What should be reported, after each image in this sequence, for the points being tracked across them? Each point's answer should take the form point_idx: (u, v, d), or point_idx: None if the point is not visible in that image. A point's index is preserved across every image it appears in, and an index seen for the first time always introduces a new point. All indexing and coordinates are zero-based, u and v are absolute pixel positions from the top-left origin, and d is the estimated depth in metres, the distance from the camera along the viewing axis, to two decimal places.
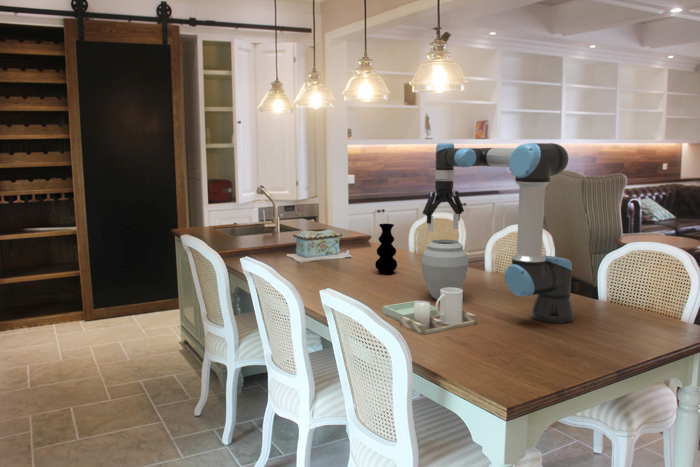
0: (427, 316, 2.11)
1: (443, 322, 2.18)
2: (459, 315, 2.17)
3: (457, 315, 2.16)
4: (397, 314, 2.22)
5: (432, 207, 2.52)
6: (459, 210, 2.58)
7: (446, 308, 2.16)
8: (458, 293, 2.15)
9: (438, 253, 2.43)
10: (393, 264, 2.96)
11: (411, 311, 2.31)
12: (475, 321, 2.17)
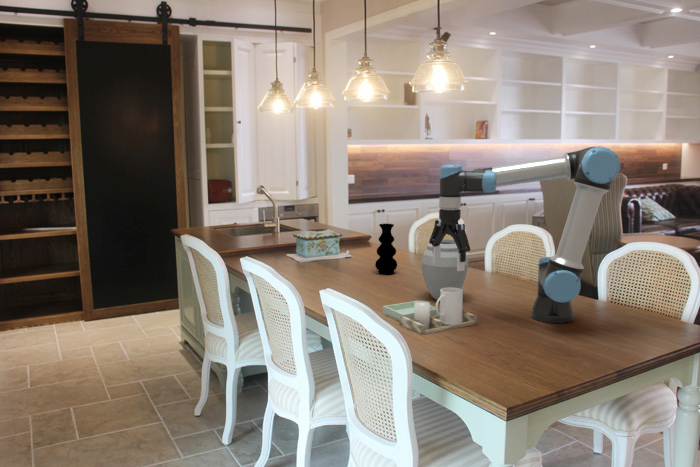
0: (427, 316, 2.11)
1: (443, 322, 2.18)
2: (459, 315, 2.17)
3: (457, 315, 2.16)
4: (397, 314, 2.22)
5: None
6: (460, 248, 2.08)
7: (446, 308, 2.16)
8: (458, 293, 2.15)
9: None
10: (393, 264, 2.96)
11: (411, 311, 2.31)
12: (475, 321, 2.17)
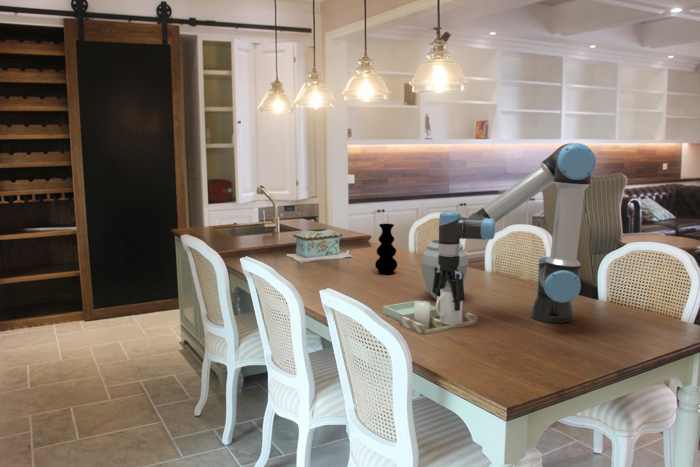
0: (427, 316, 2.11)
1: (443, 322, 2.18)
2: (459, 315, 2.17)
3: None
4: (397, 314, 2.22)
5: None
6: (455, 298, 2.13)
7: (446, 308, 2.16)
8: None
9: (438, 253, 2.43)
10: (393, 264, 2.96)
11: (411, 311, 2.31)
12: (475, 321, 2.17)
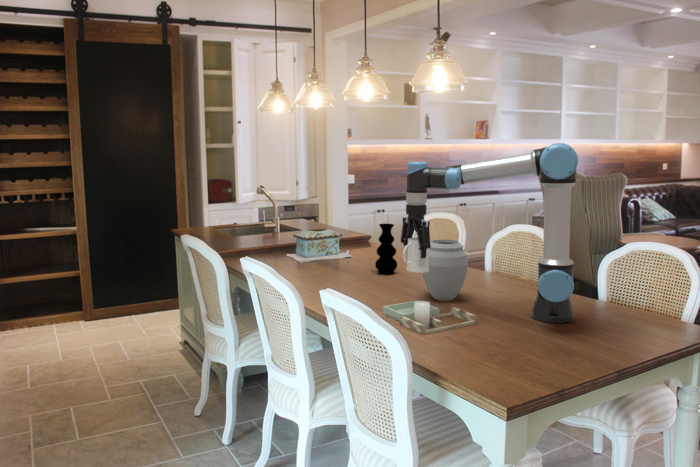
0: (427, 316, 2.11)
1: (410, 270, 2.23)
2: (426, 263, 2.23)
3: None
4: (397, 314, 2.22)
5: None
6: (421, 245, 2.18)
7: (413, 256, 2.22)
8: None
9: (438, 253, 2.43)
10: (393, 264, 2.96)
11: (411, 311, 2.31)
12: (475, 321, 2.17)
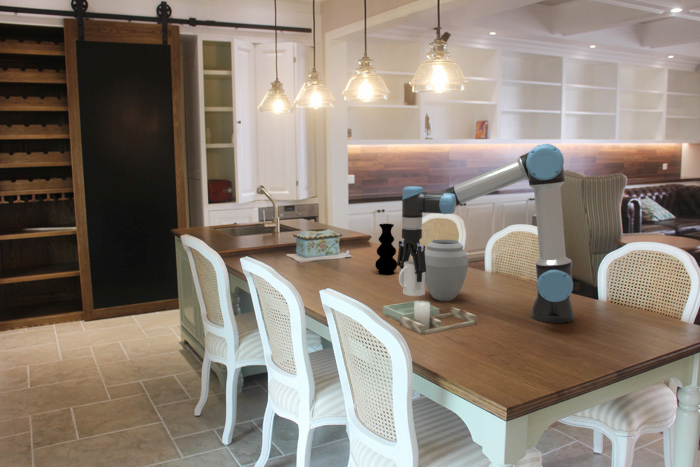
0: (427, 316, 2.11)
1: (406, 293, 2.26)
2: (421, 286, 2.25)
3: None
4: (397, 314, 2.22)
5: None
6: (417, 269, 2.21)
7: (409, 279, 2.24)
8: None
9: (438, 253, 2.43)
10: (393, 264, 2.96)
11: (411, 311, 2.31)
12: (475, 321, 2.17)
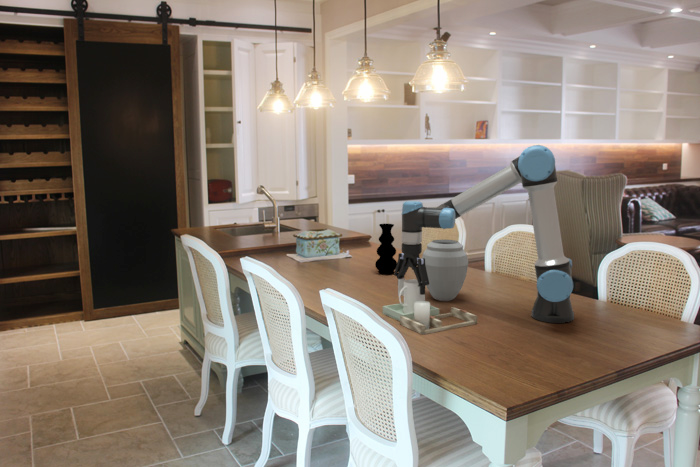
0: (427, 316, 2.11)
1: (406, 312, 2.27)
2: None
3: None
4: (397, 314, 2.22)
5: None
6: (420, 282, 2.20)
7: (409, 299, 2.26)
8: None
9: (438, 253, 2.43)
10: (393, 264, 2.96)
11: None
12: (475, 321, 2.17)
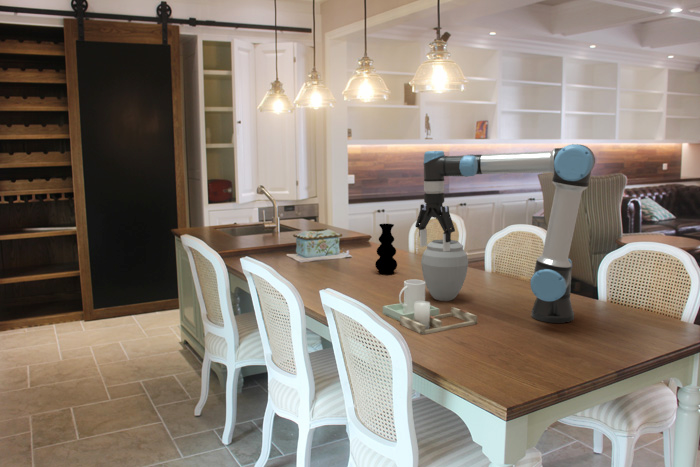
0: (427, 316, 2.11)
1: (406, 312, 2.27)
2: None
3: None
4: (397, 314, 2.22)
5: None
6: (445, 229, 2.19)
7: (409, 299, 2.26)
8: (421, 285, 2.24)
9: (438, 253, 2.43)
10: (393, 264, 2.96)
11: None
12: (475, 321, 2.17)
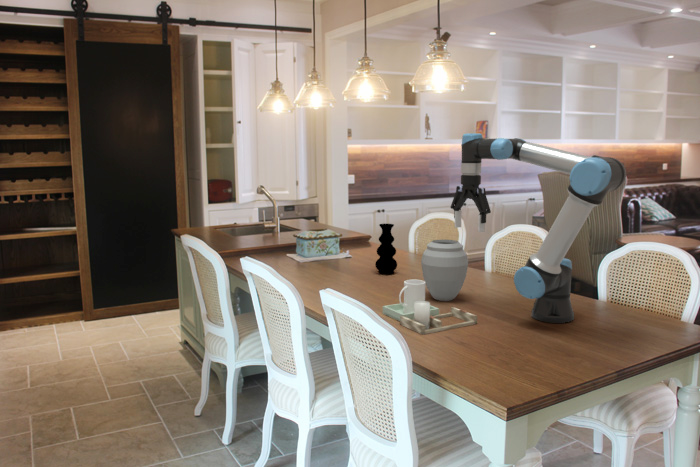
0: (427, 316, 2.11)
1: (406, 312, 2.27)
2: None
3: None
4: (397, 314, 2.22)
5: None
6: (481, 210, 2.24)
7: (409, 299, 2.26)
8: (421, 285, 2.25)
9: (438, 253, 2.43)
10: (393, 264, 2.96)
11: None
12: (475, 321, 2.17)
